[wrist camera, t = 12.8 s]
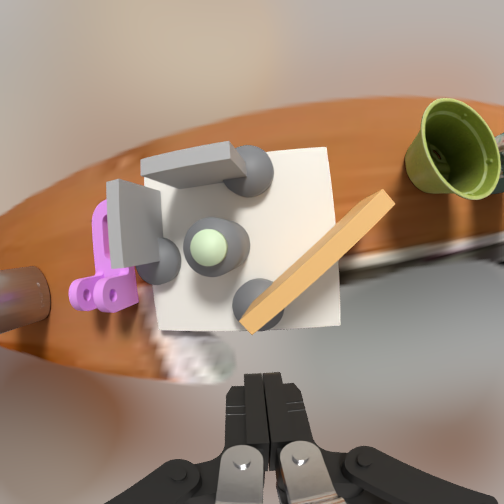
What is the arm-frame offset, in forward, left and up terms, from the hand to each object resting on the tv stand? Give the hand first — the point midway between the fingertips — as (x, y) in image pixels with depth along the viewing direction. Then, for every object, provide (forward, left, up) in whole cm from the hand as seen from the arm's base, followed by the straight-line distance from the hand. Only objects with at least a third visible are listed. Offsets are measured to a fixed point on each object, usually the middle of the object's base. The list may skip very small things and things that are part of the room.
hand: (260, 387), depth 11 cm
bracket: (-20, +6, -19) cm, 28 cm away
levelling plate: (-4, +6, -18) cm, 20 cm away
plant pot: (+18, +13, -19) cm, 29 cm away
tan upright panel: (+2, +3, -17) cm, 17 cm away
